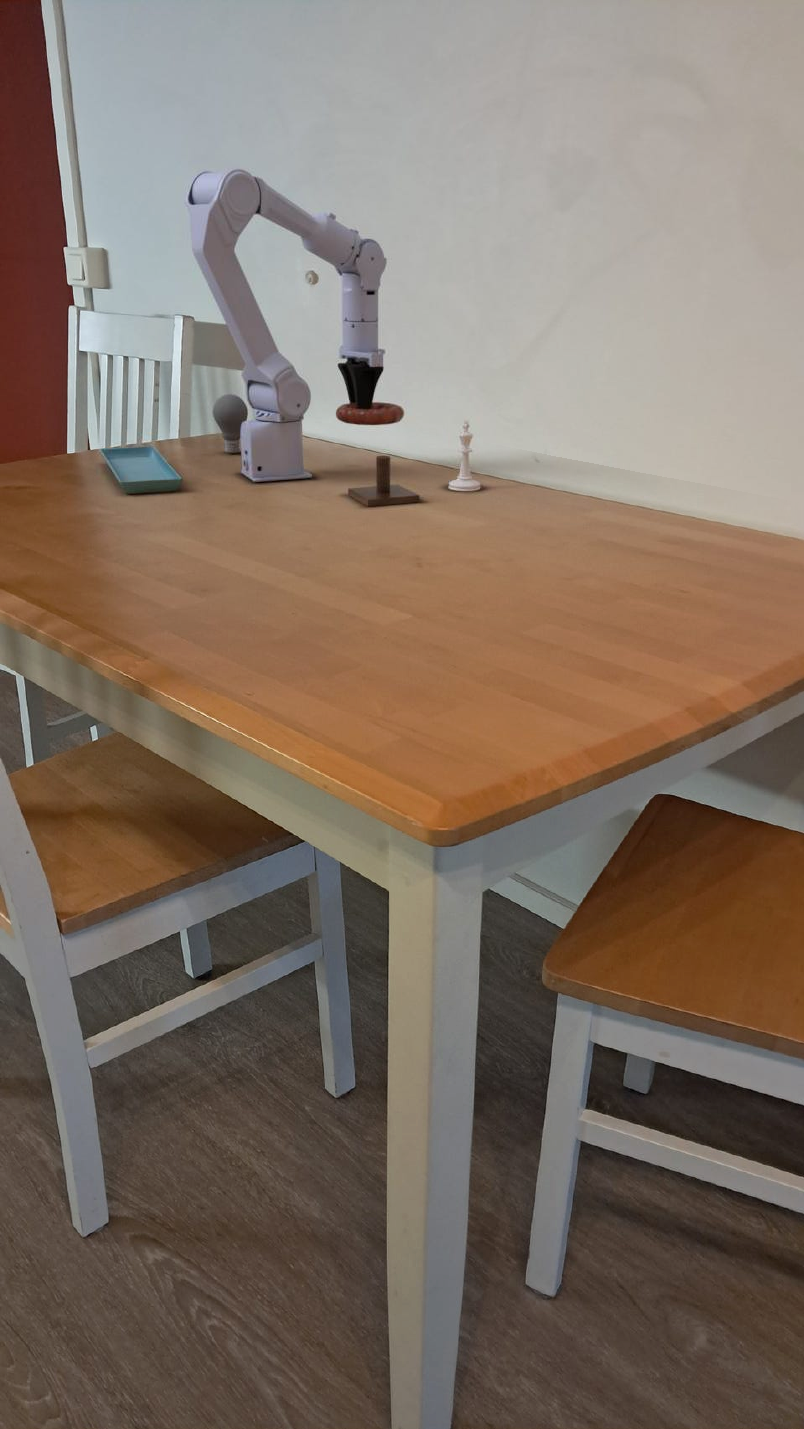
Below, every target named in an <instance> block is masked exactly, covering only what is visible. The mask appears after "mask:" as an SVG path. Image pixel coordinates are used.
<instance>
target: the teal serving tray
mask: <svg viewBox="0 0 804 1429" xmlns="http://www.w3.org/2000/svg"><path fill="white" fill-rule="evenodd" d="M99 453H100V454H101V456H102V458H103V459H104V461H105V463H106V464H107V466H108V468H109V470H110V471H111V473H112V474H113V476H114V477H115V479H116V480H117V482H118V484H119V485H120V487H121V489H122V490H123V491H124V493H125V494H127V495H130V494H131V495H132V494H133V495H134V494H145V493H146V494H148V493H168V492H176V491H177V490H178V488H179V486H180V484H181V482H182V480H183V478H182V476H181V475H179V473H178V472H177V471H176V470H175V469H174V468H173V467H172V465H171V464H170V462H168V461H167V459H166V458H165V457H164V456H163V455H162V453H161V452H160V451H159V450H158V449H157V447H156V446H154V445H147V446H145V445H144V446H128V447H127V446H126V447H112V448H100V449H99Z"/></svg>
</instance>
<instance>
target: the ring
mask: <svg viewBox="0 0 804 1429" xmlns="http://www.w3.org/2000/svg"><path fill="white" fill-rule="evenodd" d="M404 416H405V409H404V408H403V407H402V406H401V405H398V404H395V403H389V402H380V401H378V402H377V401H372V406H371V409H357V406H356V403H350V402H349V403H344V404H341V405H340V406H339V407H338V408H336V410H335V417H336V419H337V420H338V421H340V422H342V423H345V424H350V425H358V426H385V425H393V424H396V423H399V422H400V421H402V420H403V418H404Z"/></svg>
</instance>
